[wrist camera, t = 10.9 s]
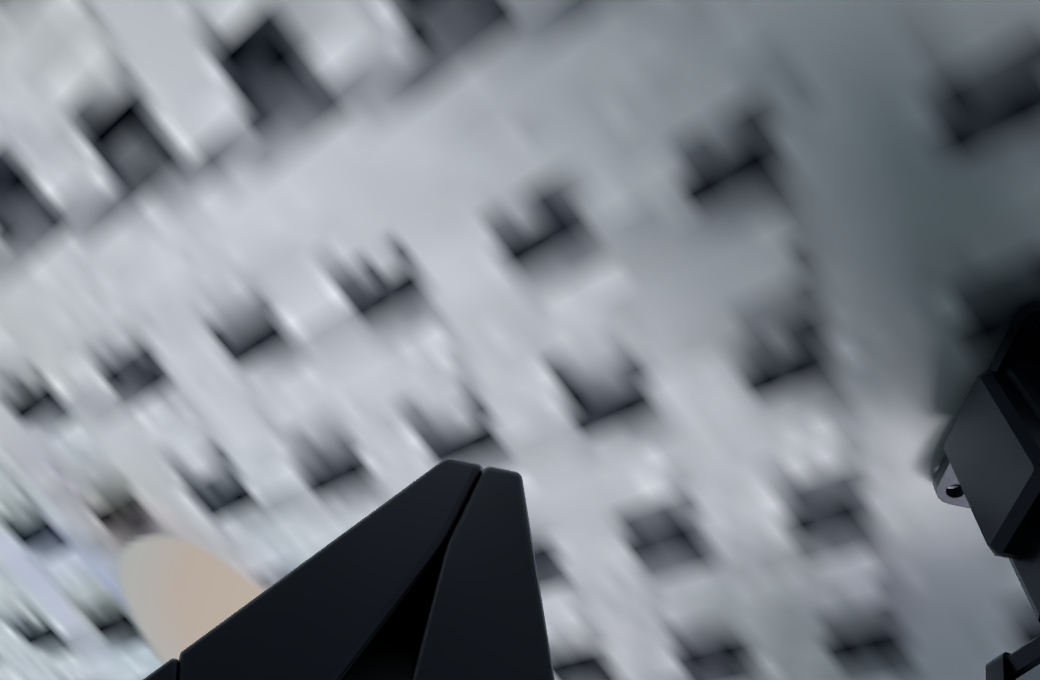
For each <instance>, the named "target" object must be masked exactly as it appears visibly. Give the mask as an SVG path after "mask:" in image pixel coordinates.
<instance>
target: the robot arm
mask: <svg viewBox="0 0 1040 680" xmlns="http://www.w3.org/2000/svg"><path fill="white" fill-rule="evenodd" d="M1037 319H1040V302H1034V303H1031V304H1028V305H1026V306H1025V307H1023V308H1022V309H1020V310H1019V312H1018V313H1017V314H1016V316H1015V318H1014V320H1013V322H1012V324H1011V326H1010V328H1009V330H1008V331H1007V333H1006V335H1005V337H1004V339H1003V341H1002V343H1001V345H1000V347H999V349H998V351H997V353H996V355H995V357H994V359H993V361H992V363H991V365H990V367H989V369H988V371H985V372H984V373H982V374H981V375H980V376H978V377H977V379H976V381H975V383H974V385H973V387H972V389H971V391H970V393H969V395H968V397H967V399H966V401H965V403H964V405H963V407H962V409H961V411H960V413H959V415H958V417H957V419H956V421H955V423H954V425H953V427H952V429H951V431H950V433H949V435H948V437H947V439H946V441H945V443H944V447H943V448H944V451H945V453H946V455H945V457H944V459H943V461H942V463H941V465H940V467H939V469H938V471H937V473H936V475H935V477H934V479H933V486H934V489H935V491H936V494H937V496H938V498H939V499H940V500H941V501H942V502H945V503H948V504H952V505H957V506H962V507H966V508H971V510H972V512H973V514H974V517H975V519H976V521H977V523H978V525H979V528H980V530H981V532H982V534H983V536H984V539H985V541H986V543H987V545H988V546H989V548H990V549H991V551H992V552H993V553H994V554H995V556H1000V557H1004V558H1009V560H1010V562H1011V564H1012V566H1013V568H1014V571H1015V573H1016V575H1017V577H1018V579H1019V581H1020V583H1021V585H1022V587H1023V589H1024V591H1025V594H1026V596H1027V598H1028V600H1029V602H1030V604H1031V606H1032V608H1033V610H1034V612H1035V614H1036V616H1037V619H1038V621H1039V622H1040V327H1038V328H1031V325H1032V324H1033V323H1034V321H1035V320H1037ZM953 484H960V486H959V487H957V488H954V489H948V487H949V486H951V485H953ZM143 680H555V679H554V673H553V667H552V661H551V655H550V648H549V642H548V636H547V630H546V624H545V617H544V611H543V605H542V599H541V592H540V586H539V580H538V574H537V568H536V561H535V555H534V549H533V543H532V537H531V530H530V524H529V518H528V512H527V505H526V499H525V493H524V487H523V481H522V477H521V475H520V474H519V473H517V472H514V471H509V470H505V469H500V468H495V467H486V468H485V469H484V470H483V468H482V467H481V466H480V465H479V464H477V463H472V462H467V461H462V460H458V459H453V458H448V459H445V460H443V461H442V462H440V463H439V464H438V465H436V466H435V467H433V468H432V469H431V470H429V471H428V472H427V473H425V474H424V475H423V476H421V477H420V478H418V479H417V480H416V481H414V482H413V483H412V484H410V485H409V486H408V487H406V488H405V489H403V490H402V491H401V492H399V493H398V494H397V495H395V496H394V497H393V498H391V499H390V500H388V501H387V502H386V503H384V504H383V505H382V506H380V507H379V508H377V509H376V510H375V511H373V512H372V513H371V514H369V515H368V516H367V517H365V518H364V519H362V520H361V521H360V522H358V523H357V524H356V525H354V526H353V527H352V528H350V529H349V530H347V531H346V532H345V533H343V534H342V535H341V536H339V537H338V538H337V539H335V540H334V541H332V542H331V543H330V544H328V545H327V546H326V547H324V548H323V549H322V550H320V551H319V552H317V553H316V554H315V555H313V556H312V557H311V558H309V559H308V560H306V561H305V562H304V563H302V564H301V565H300V566H298V567H297V568H296V569H294V570H293V571H291V572H290V573H289V574H287V575H286V576H285V577H283V578H282V579H281V580H279V581H278V582H276V583H275V584H274V585H272V586H271V587H270V588H268V589H267V590H266V591H264V592H263V593H261V594H260V595H259V596H257V597H256V598H255V599H253V600H252V601H251V602H249V603H248V604H247V605H245V606H244V607H242V608H241V609H240V610H238V611H237V612H235V613H234V614H233V615H231V616H230V617H229V618H227V619H226V620H225V621H223V622H222V623H220V624H219V625H218V626H216V627H215V628H214V629H212V630H211V631H210V632H208V633H207V634H206V635H204V636H203V637H201V638H200V639H199V640H197V641H196V642H195V643H194V644H192V645H190V646H189V647H188V648H186V649H185V650H184V651H182V652H181V654H180V658H179V660H177V659H171V660H169V661H168V662H167V663H165V664H164V665H163V666H161V667H160V668H158V669H157V670H156V671H154V672H153V673H152V674H150V675H149V676H148V677H146V678H145V679H143ZM986 680H1040V635H1039V636H1038V637H1036V638H1035V639H1033V640H1032V641H1030V642H1029V643H1027V644H1026V645H1024V646H1023V647H1021V648H1020V649H1018V650H1017V651H1015V652H1014V653H1012V654H1010V653H1007V652H1005V653H1003V654H1001V655H1000V656H998V657H997V658H995V659H994V660H992V661H991V662H989V663H988V664H987V665H986Z"/></svg>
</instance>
